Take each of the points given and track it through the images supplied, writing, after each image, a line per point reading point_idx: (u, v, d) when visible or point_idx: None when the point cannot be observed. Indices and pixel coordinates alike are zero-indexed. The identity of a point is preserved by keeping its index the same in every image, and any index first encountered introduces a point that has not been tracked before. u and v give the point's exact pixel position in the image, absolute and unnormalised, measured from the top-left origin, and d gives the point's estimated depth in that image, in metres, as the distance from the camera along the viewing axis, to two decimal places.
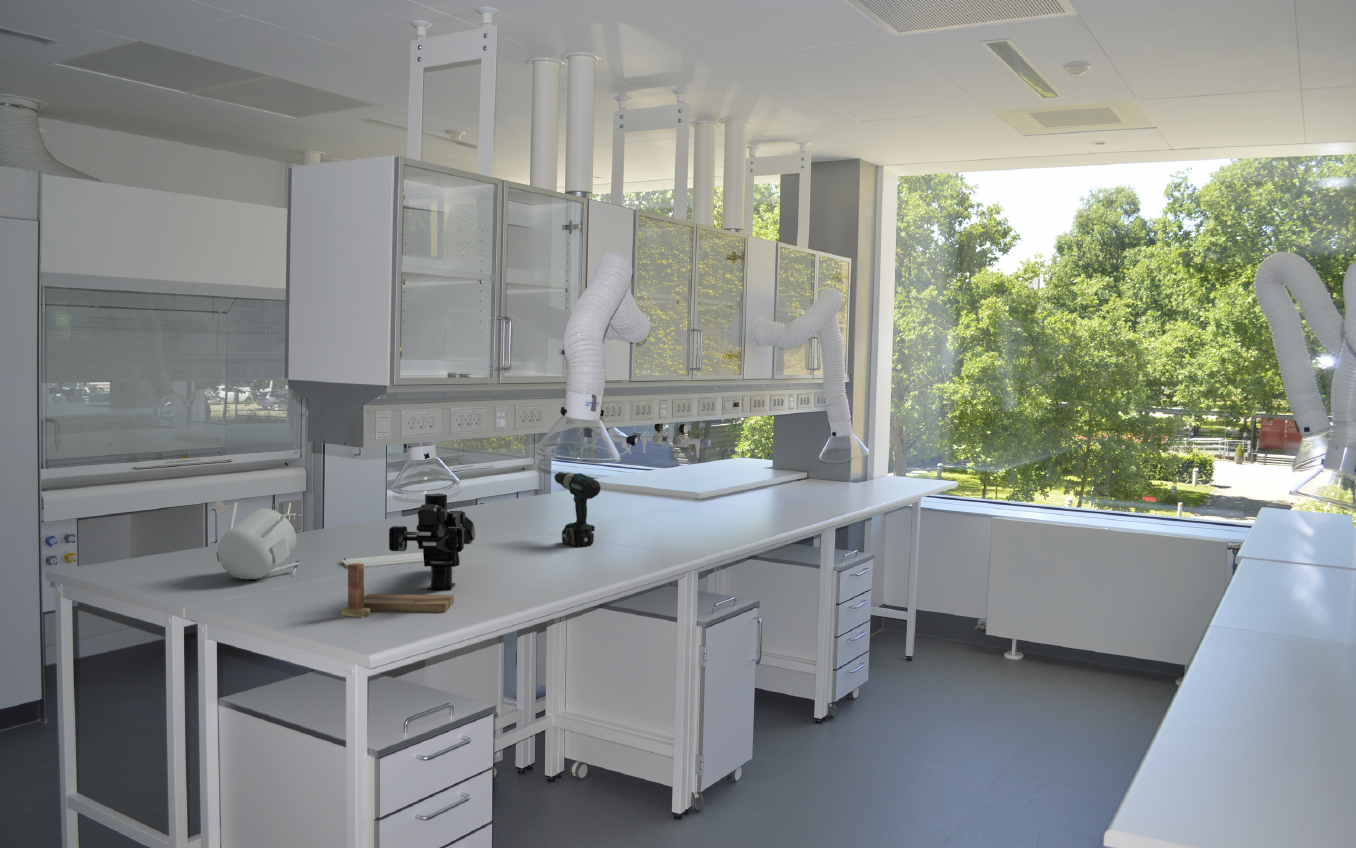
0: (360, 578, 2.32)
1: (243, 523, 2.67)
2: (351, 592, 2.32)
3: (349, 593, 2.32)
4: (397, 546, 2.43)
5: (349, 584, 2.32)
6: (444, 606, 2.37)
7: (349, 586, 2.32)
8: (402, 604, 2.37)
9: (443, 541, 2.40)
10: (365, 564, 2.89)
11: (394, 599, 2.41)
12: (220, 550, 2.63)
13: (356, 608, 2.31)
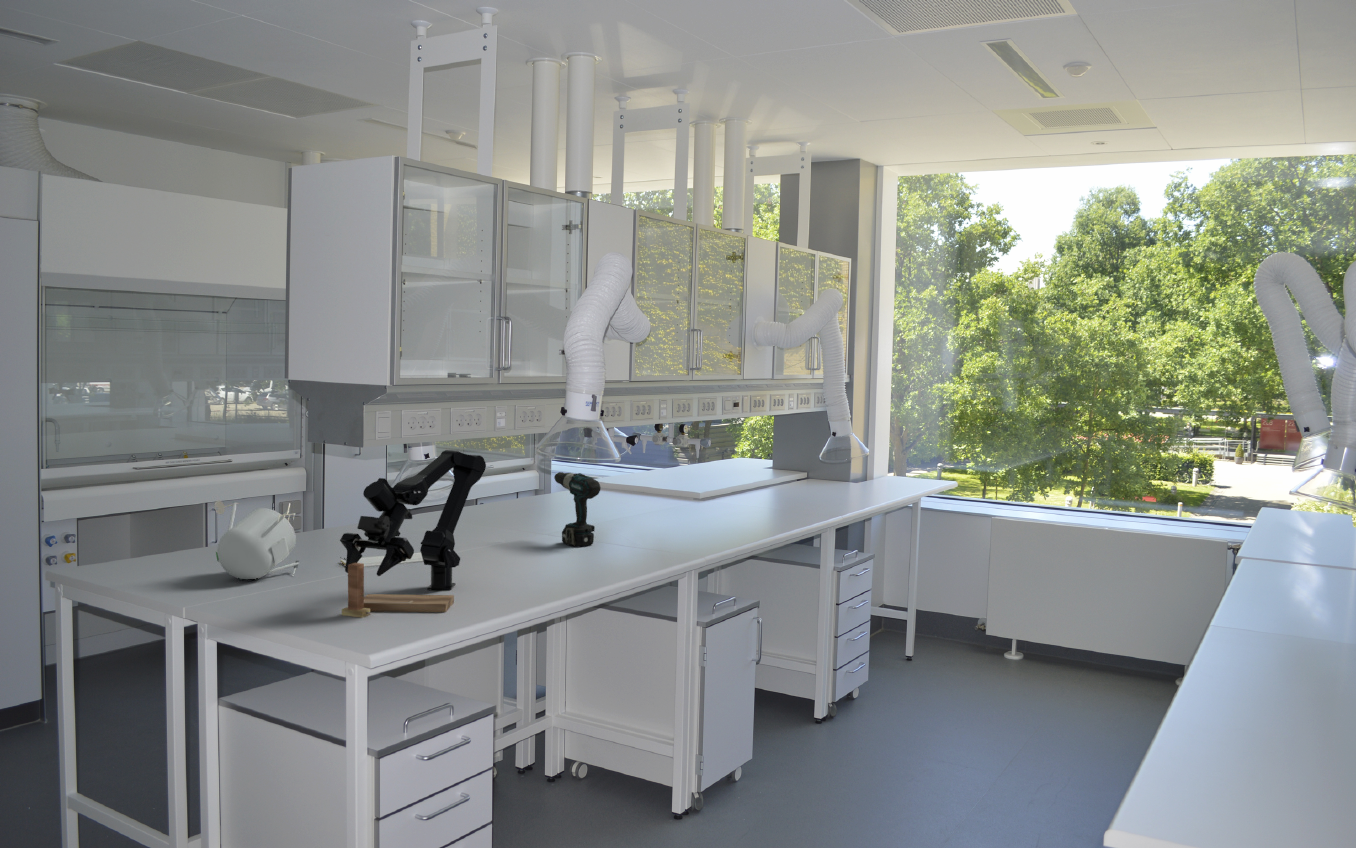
0: (360, 578, 2.32)
1: (243, 523, 2.67)
2: (351, 592, 2.32)
3: (349, 593, 2.32)
4: None
5: (349, 584, 2.32)
6: (444, 606, 2.37)
7: (349, 586, 2.32)
8: (402, 604, 2.37)
9: (385, 565, 2.34)
10: (365, 564, 2.89)
11: (394, 599, 2.41)
12: (220, 550, 2.63)
13: (356, 608, 2.31)
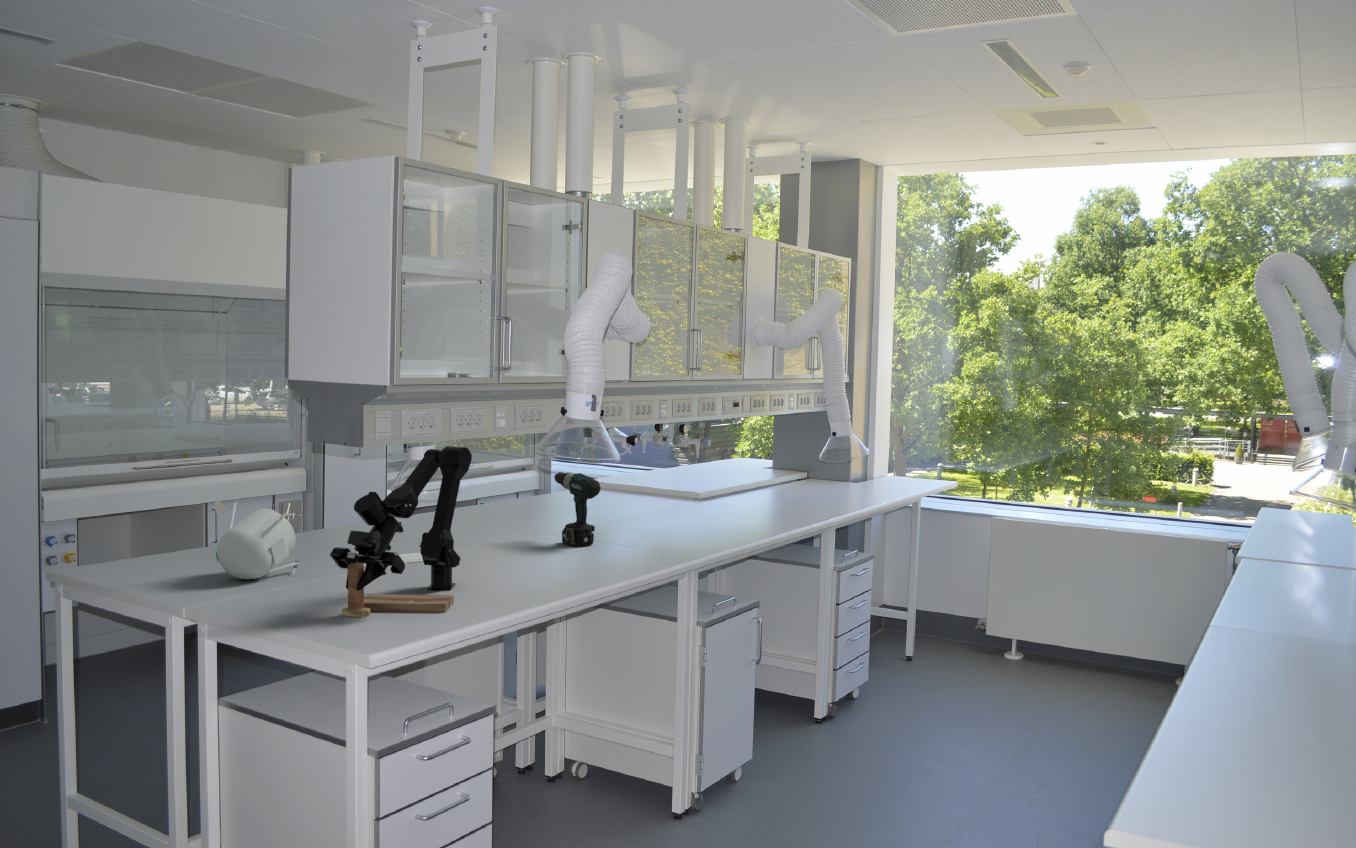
0: None
1: (242, 523, 2.67)
2: (351, 592, 2.32)
3: (349, 593, 2.32)
4: None
5: (349, 584, 2.32)
6: (444, 606, 2.37)
7: (349, 586, 2.32)
8: (402, 604, 2.37)
9: (364, 579, 2.32)
10: None
11: (394, 599, 2.41)
12: (219, 550, 2.63)
13: (356, 608, 2.31)
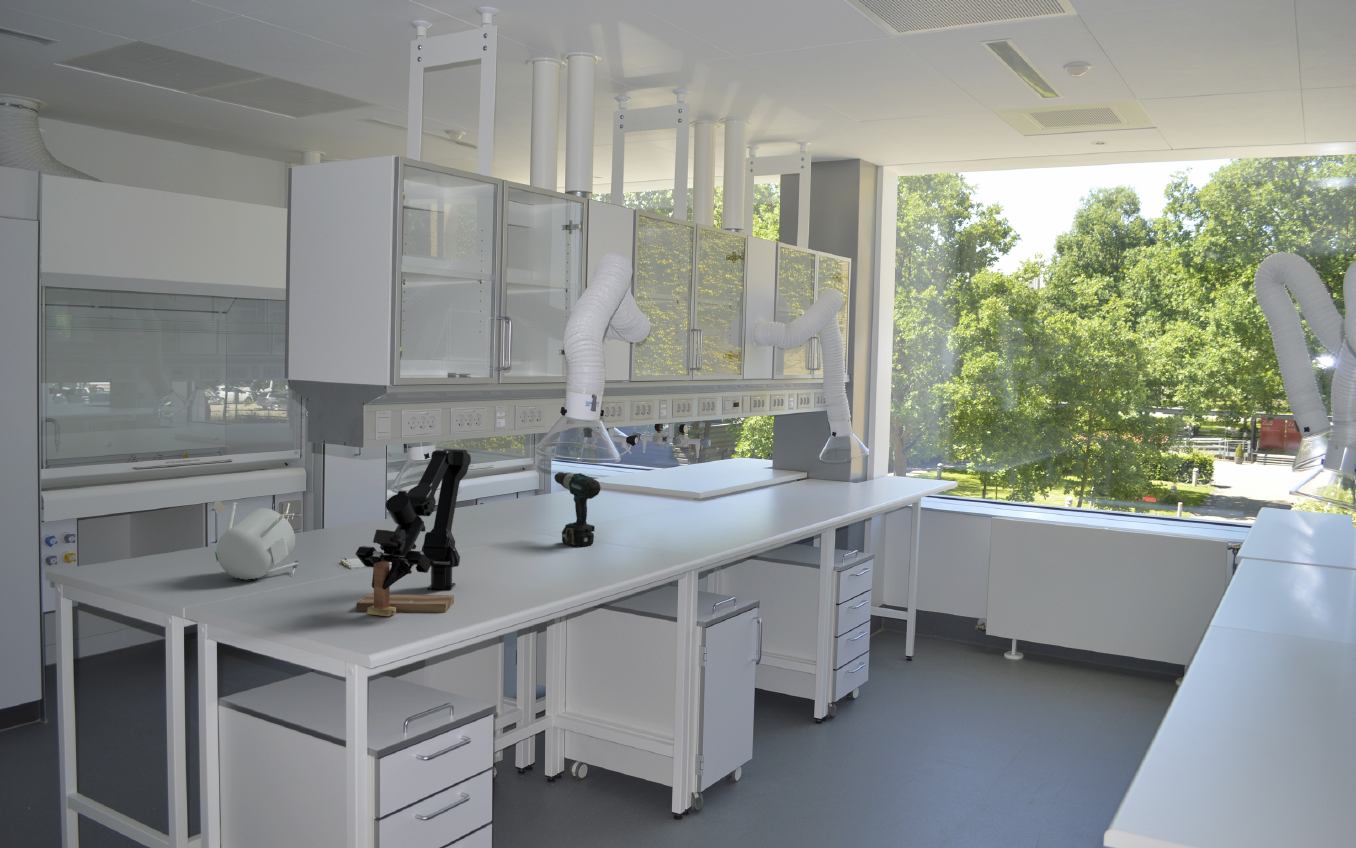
0: None
1: (242, 523, 2.67)
2: (377, 591, 2.32)
3: (375, 592, 2.32)
4: None
5: (375, 583, 2.32)
6: (444, 606, 2.37)
7: (375, 585, 2.32)
8: (402, 604, 2.37)
9: (390, 578, 2.32)
10: None
11: (394, 599, 2.41)
12: (219, 550, 2.63)
13: (382, 607, 2.32)
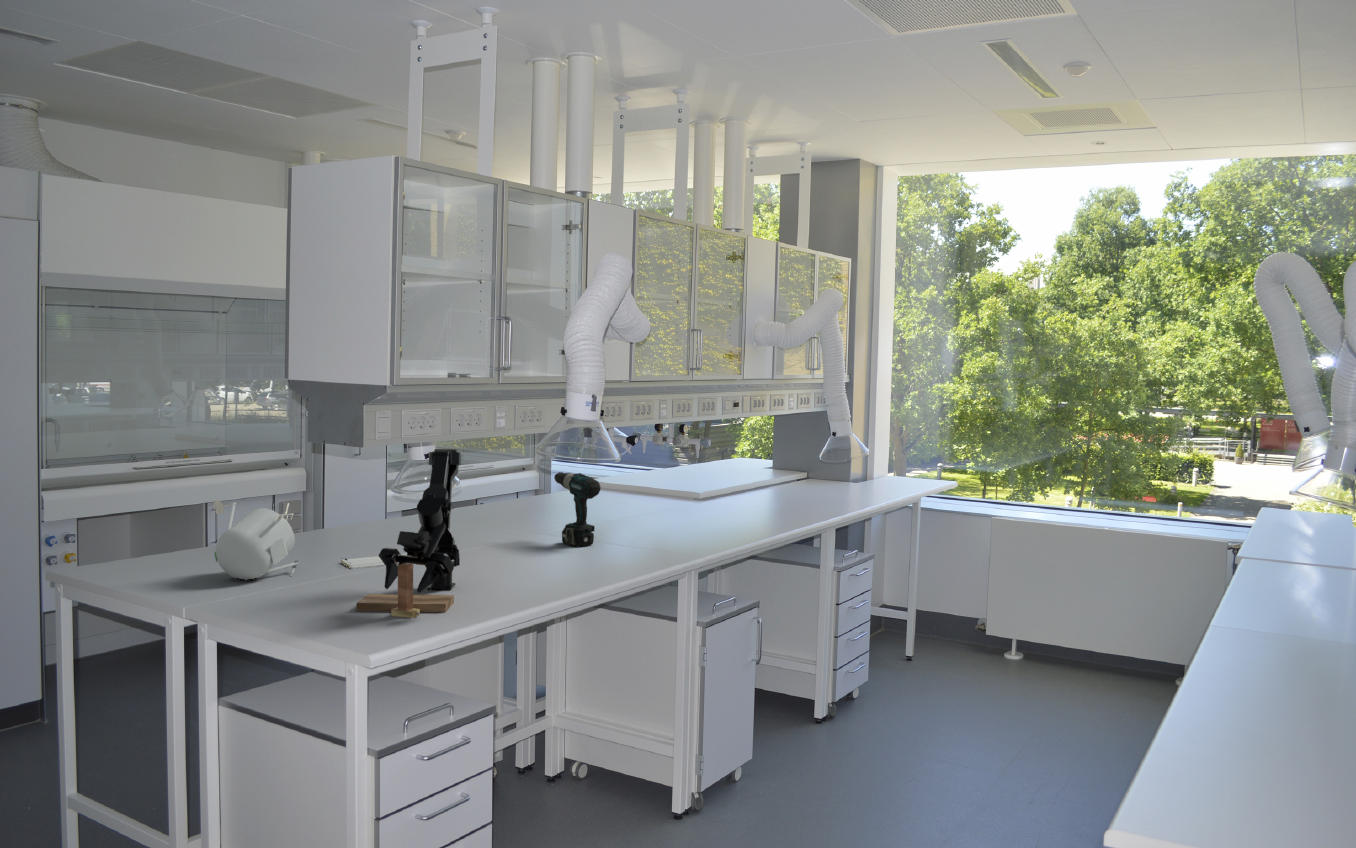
0: (409, 578, 2.32)
1: (241, 523, 2.67)
2: (401, 593, 2.32)
3: (399, 594, 2.32)
4: None
5: (399, 585, 2.32)
6: (444, 606, 2.37)
7: (399, 587, 2.32)
8: None
9: (425, 581, 2.31)
10: (366, 564, 2.89)
11: (394, 599, 2.41)
12: (218, 550, 2.63)
13: (406, 609, 2.32)
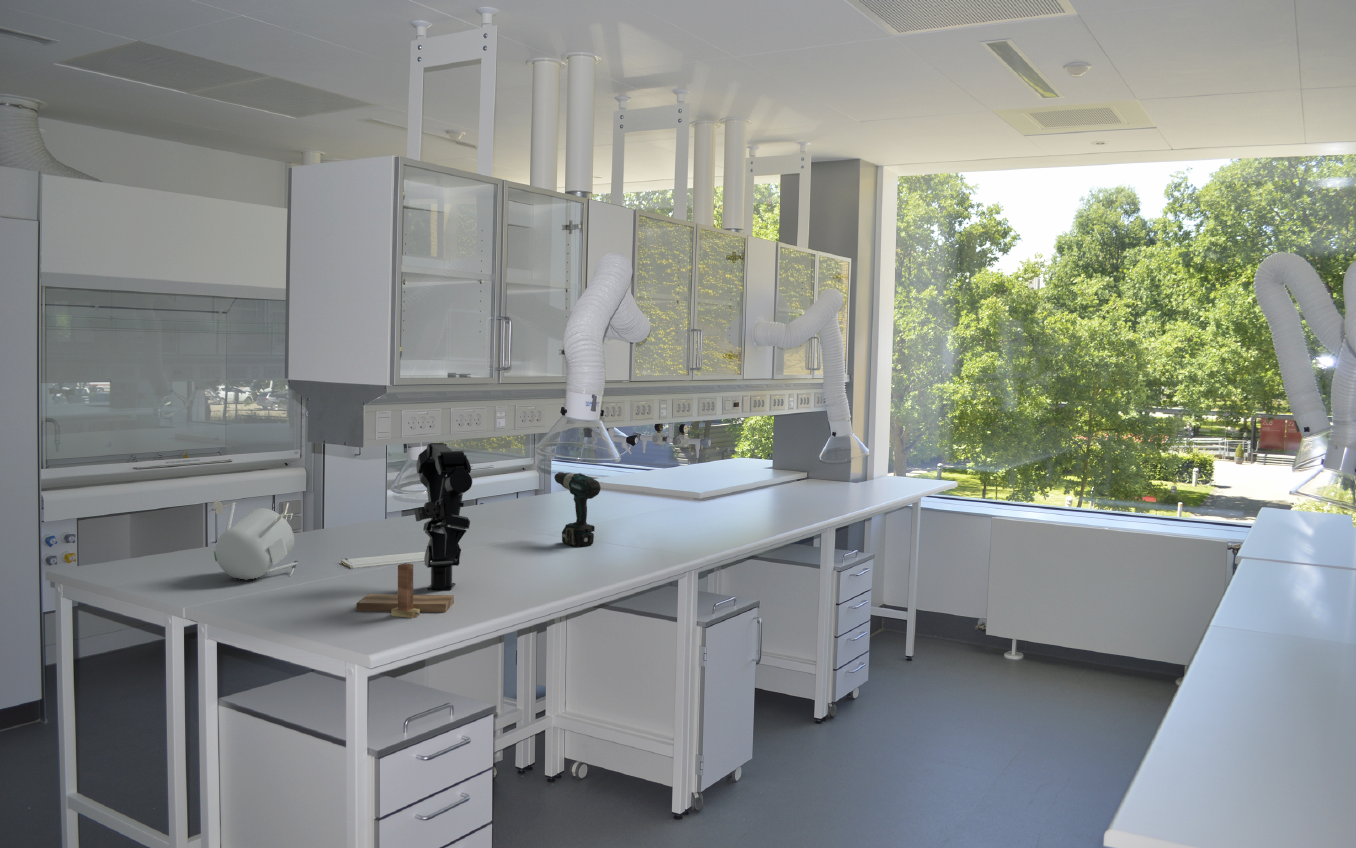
0: (409, 578, 2.32)
1: (241, 523, 2.68)
2: (401, 593, 2.32)
3: (399, 594, 2.32)
4: None
5: (399, 585, 2.32)
6: (444, 606, 2.37)
7: (399, 587, 2.32)
8: None
9: (448, 545, 2.40)
10: (367, 564, 2.89)
11: (394, 599, 2.41)
12: (218, 550, 2.63)
13: (406, 609, 2.32)
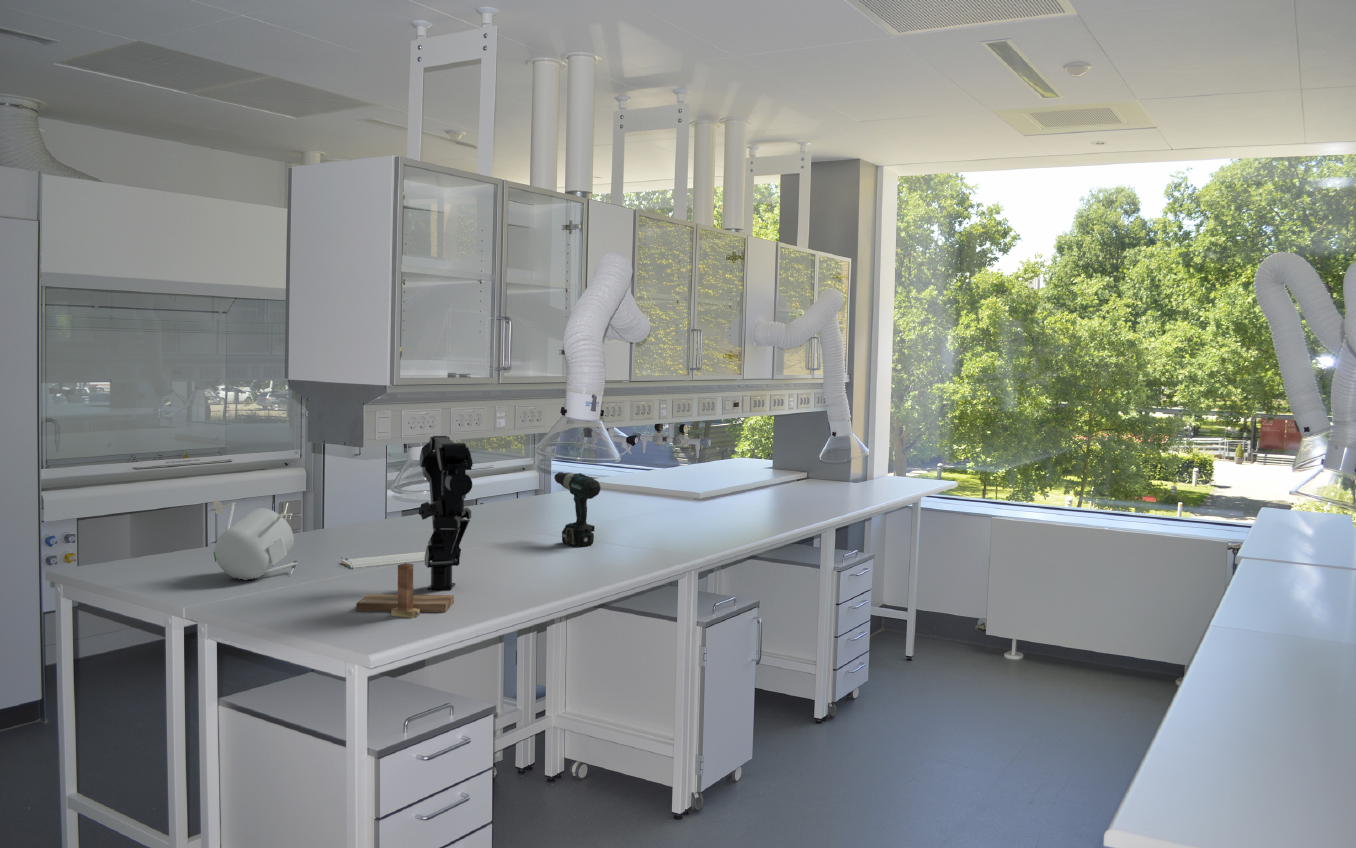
0: (409, 578, 2.32)
1: (240, 523, 2.68)
2: (401, 593, 2.32)
3: (399, 594, 2.32)
4: None
5: (399, 585, 2.32)
6: (444, 606, 2.37)
7: (399, 587, 2.32)
8: None
9: (446, 544, 2.43)
10: (367, 564, 2.89)
11: (394, 599, 2.41)
12: (217, 550, 2.63)
13: (406, 609, 2.32)
